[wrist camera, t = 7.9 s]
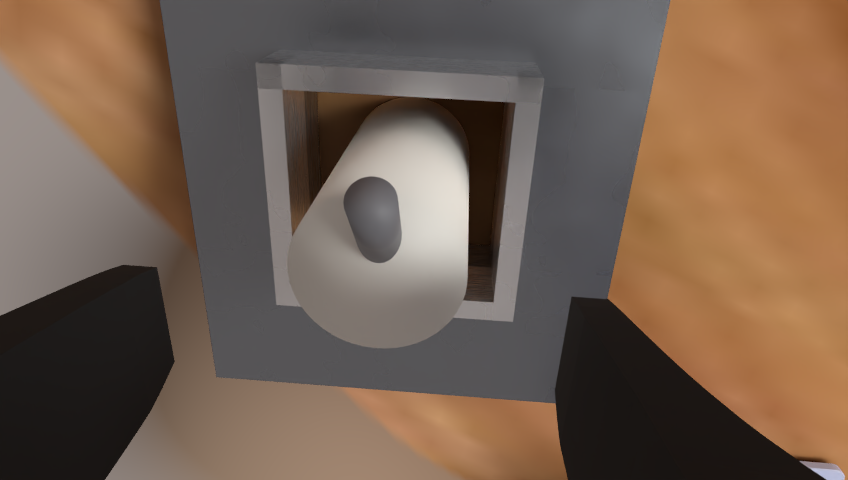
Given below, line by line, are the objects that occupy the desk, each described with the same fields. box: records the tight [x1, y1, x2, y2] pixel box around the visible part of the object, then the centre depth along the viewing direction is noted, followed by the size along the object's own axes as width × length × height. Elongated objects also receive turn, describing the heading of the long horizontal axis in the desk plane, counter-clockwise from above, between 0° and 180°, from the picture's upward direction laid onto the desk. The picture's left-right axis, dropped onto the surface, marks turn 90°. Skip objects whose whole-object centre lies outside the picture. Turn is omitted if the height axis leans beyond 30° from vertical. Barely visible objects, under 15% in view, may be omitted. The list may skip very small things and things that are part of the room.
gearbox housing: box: [160, 0, 670, 403], centre depth 16 cm, size 18×13×4 cm
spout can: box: [287, 97, 469, 349], centre depth 14 cm, size 4×4×9 cm
